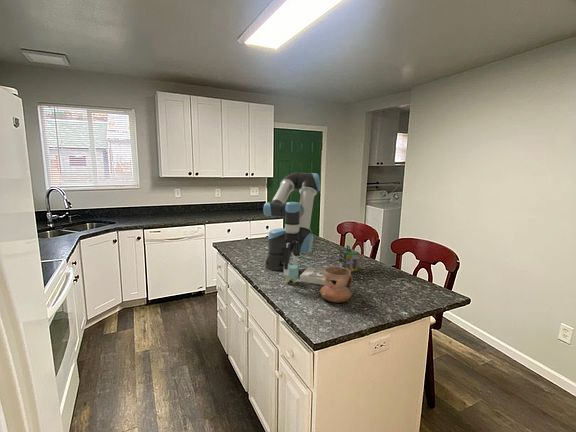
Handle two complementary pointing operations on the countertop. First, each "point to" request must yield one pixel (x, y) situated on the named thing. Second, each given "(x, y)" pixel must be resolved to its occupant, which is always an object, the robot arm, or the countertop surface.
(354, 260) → the chalk box
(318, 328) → the countertop surface
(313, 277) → the socket
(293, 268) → the teal block figurine
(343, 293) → the ceramic jug
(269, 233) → the robot arm
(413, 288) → the countertop surface
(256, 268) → the countertop surface
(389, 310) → the countertop surface
